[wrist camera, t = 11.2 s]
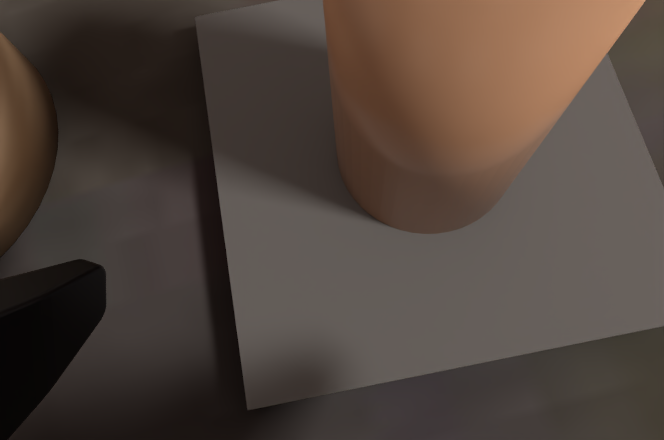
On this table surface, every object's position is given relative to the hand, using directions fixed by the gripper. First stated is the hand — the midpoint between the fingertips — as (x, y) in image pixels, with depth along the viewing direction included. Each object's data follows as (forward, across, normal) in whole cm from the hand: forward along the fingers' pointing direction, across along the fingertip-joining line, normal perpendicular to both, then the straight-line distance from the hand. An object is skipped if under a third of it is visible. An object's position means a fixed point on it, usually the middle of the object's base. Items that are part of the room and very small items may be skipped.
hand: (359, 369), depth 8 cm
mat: (+9, 0, 0) cm, 9 cm away
